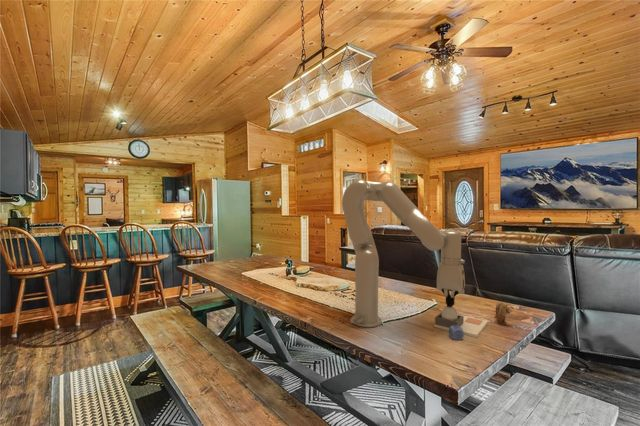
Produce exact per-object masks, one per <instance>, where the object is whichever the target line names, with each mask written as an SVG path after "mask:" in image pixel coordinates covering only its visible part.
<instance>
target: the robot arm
mask: <svg viewBox="0 0 640 426" xmlns="http://www.w3.org/2000/svg"><path fill="white" fill-rule="evenodd" d="M364 201H370V202H381V203H382V202H383V203H384V204H385V206H386V207H387V208H388V209H389V210H390V211H391V212H392V214H394V216H395V217H396V218H397V219H398V220H399V221H400V222H401V223H402V224H403V225H404V226H406V227H407V228H408V229H409V230H410V231H412V232H413V234H414V235H415V236H416V237H417V238H418V239H419V241H420V242H421V244H422V245H423V246H424V247H425V248H427V250H430V251H432V252H433V251H435V252H436V251H440V263H439V264H438V267H437V273H436V290H438V291H441V292H442V293H443V295H444V297H445V304H446V306H447V307H452V306H453V307H454V305H455V297H456V296H457V295H463V294H465V288H466V280H465V279H466V278H465V269H464V265H463V264H465V261H466V260H465V259H462V233H461V232H460V231H458V230H438V228H437V227H436V226H435V225H434V224H433V223H432V222H431V221H430V220H429V219H428V217H426V216H425V215H424V213H422V211H421V210H420V209H419V208H418V207H417V206H416V205H415V203H414V202H412V200H411V199H410V198H409V197H408V196H407V195H406V194H405V193H404V191H402V190H401V188H399V186H398V185H397V184H395V182H393V181H385V182H384V181H383V182H382V181H381V182H379V181H368V180H365V179H361V178H358V179H355V180H354V181H352V182H351V183H350V184H349V185H348V186H347V188H346V189H345V190H344V192H343V195H342V200H341V207H342V211H343V216H344V221H345V224H346V228H347V231H348V237H349V239H350V241H351V243H352V246H353V250H354V253H355V259H354V268H355V269H354V271H355V272H354V273H355V275H354V276H355V277H354V279H355V283H354V285H355V294H354V295H355V296H354V297H355V298H354V299H355V300H354V302H355V304H354V305H355V306H354V308H355V309H354V311H355V312H354V315H353V316H352V317H350V319H349V323H351V324H354V325H355V326H358V327H362V328H375V327H379V326H381V324H382V321H383V320H382V318H381V317H380V316H379V267H380V264H379V263H380V258H379V253H378V250H377V247H376V243H375V239H374V237H373V232H372V230H371V229H372V228H371V227H370V225H369V224H368V221H367V217H366V213H365V210H364V206H363V203H364ZM450 291H451V292H450Z"/></svg>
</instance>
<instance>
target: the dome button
mask: <svg viewBox="0 0 640 426" xmlns="http://www.w3.org/2000/svg"><path fill="white" fill-rule="evenodd" d="M441 312H442V318H444V319H448V320H453V321H456V320H457V314H458V311H457V309H456V307H454V305H453V306H452V307H447V305H445V306H443V308H442V310H441Z"/></svg>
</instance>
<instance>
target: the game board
mask: <svg viewBox="0 0 640 426" xmlns="http://www.w3.org/2000/svg"><path fill="white" fill-rule="evenodd" d="M488 324H489V321H488V320H486V319H482V318H481V319H480V318H478V317H476V318H475V317H473V316H467V315H463V314H458V313H457V320H456V321H453V320H448V319H444V318H442V311H440V313H438V314H437V315H436V316H435V317H434V327H435V328H438V329H441V330H445V331H449V328H450V327H451V326H459V327H461V328H462V329H463V332H464V336H469V337H472V338H478V337H479V335H480V334H481V333H482V332H483V330H484V329H485V328H486V327H487V325H488Z"/></svg>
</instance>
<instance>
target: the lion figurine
mask: <svg viewBox="0 0 640 426" xmlns="http://www.w3.org/2000/svg"><path fill="white" fill-rule="evenodd" d="M511 313H512V309H511V308H510V307H509V306H508V304H507V303H505V302H503V303H502V302H498V303H496V305H495V315H494V317H493V318H494V319H496V321H495V323H497V324H500V318H501V319H502V323H503V324H504V323H505V324H507V321H506V316H507V315H510V314H511Z"/></svg>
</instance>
